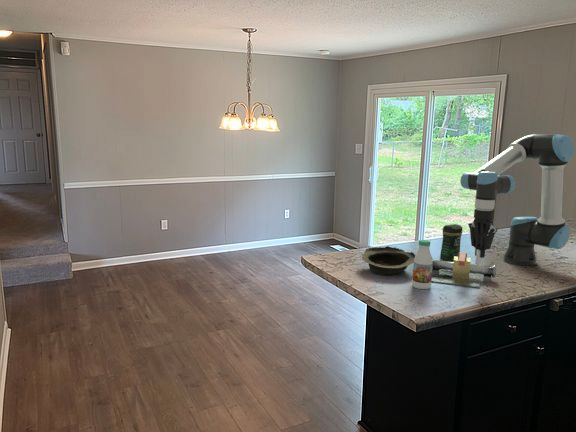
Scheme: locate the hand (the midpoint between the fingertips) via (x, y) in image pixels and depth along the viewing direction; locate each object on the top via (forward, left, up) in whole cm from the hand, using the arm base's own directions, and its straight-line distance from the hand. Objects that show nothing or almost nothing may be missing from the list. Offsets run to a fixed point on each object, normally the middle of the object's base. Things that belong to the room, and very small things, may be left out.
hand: (478, 264), depth 197 cm
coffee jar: (+13, -38, -10) cm, 41 cm away
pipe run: (+9, -9, -10) cm, 16 cm away
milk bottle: (+22, +10, -10) cm, 26 cm away
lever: (+7, -5, -1) cm, 8 cm away
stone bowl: (+39, -6, -10) cm, 41 cm away
